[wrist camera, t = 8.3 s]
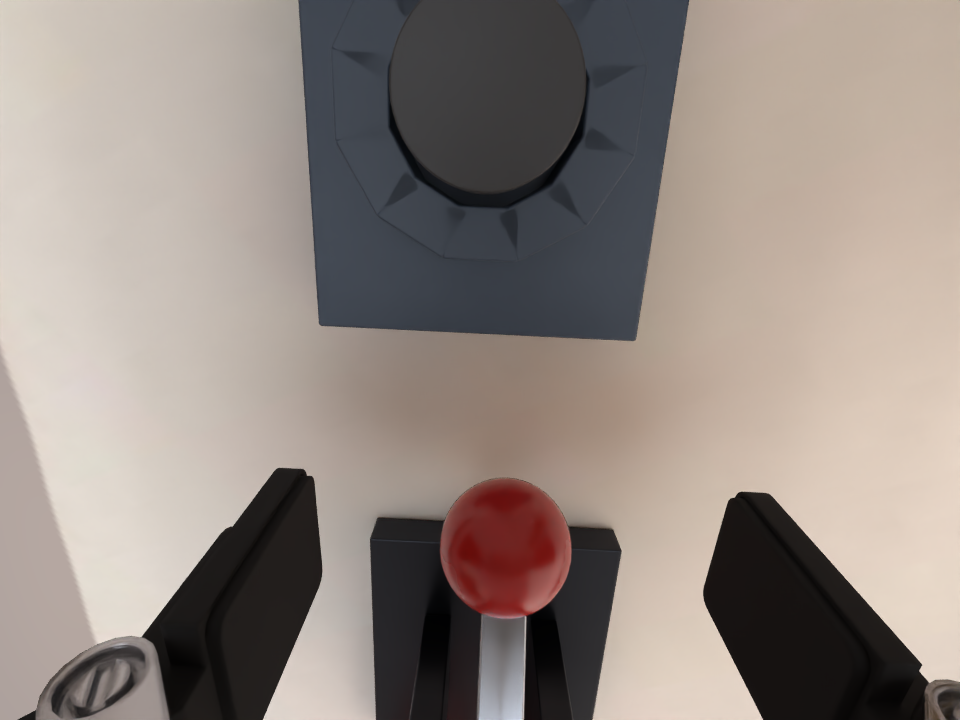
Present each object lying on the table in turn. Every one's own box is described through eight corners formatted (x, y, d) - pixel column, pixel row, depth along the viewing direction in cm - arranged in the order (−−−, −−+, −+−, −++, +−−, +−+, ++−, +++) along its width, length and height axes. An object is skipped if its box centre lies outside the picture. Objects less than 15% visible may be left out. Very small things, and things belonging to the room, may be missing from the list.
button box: (320, -118, 12) (242, -268, 8) (676, -100, 12) (764, -242, 8) (341, 309, 15) (292, 344, 12) (616, 323, 15) (658, 362, 12)
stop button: (404, 4, 10) (386, -38, 8) (580, 13, 10) (598, -27, 8) (404, 190, 11) (389, 188, 9) (561, 198, 11) (575, 197, 9)
